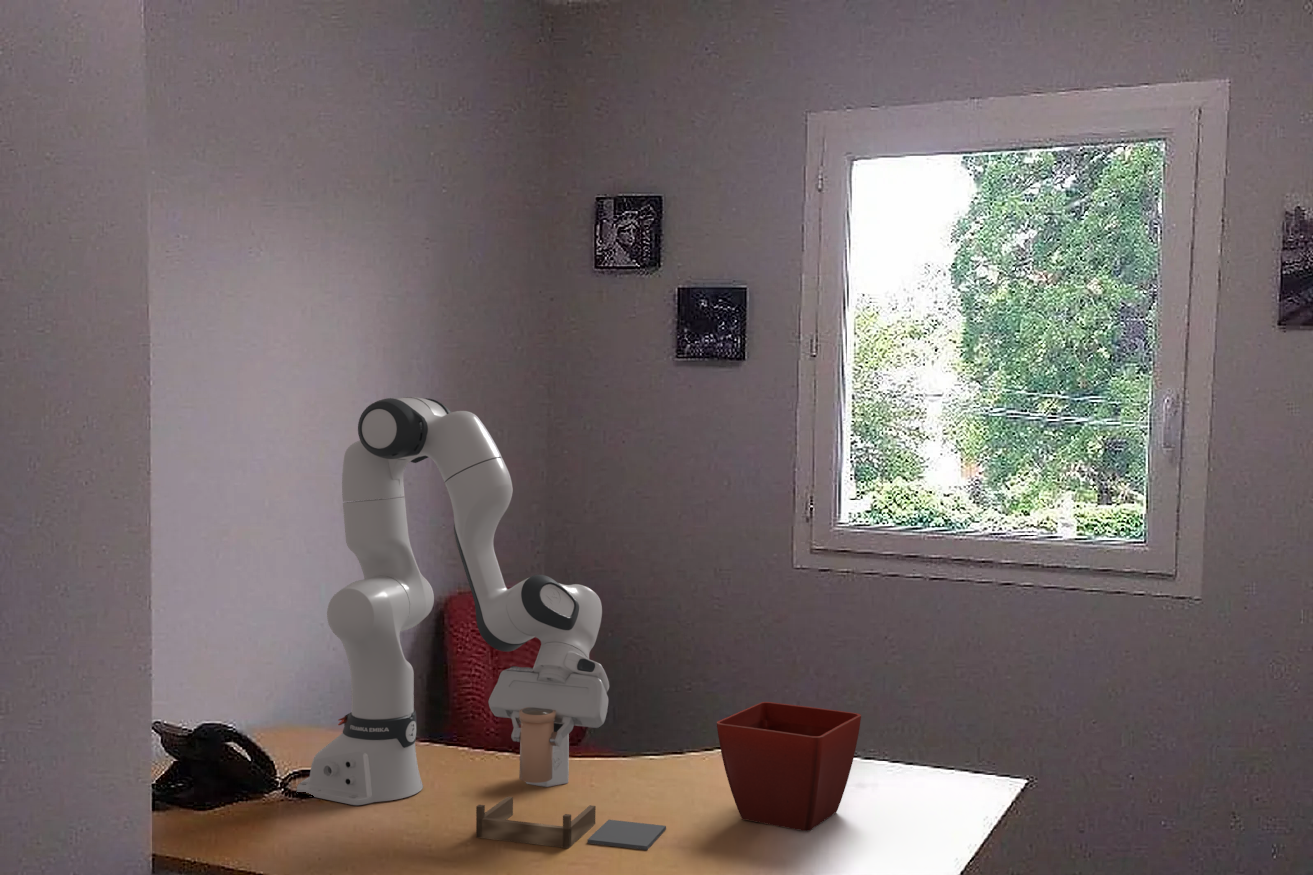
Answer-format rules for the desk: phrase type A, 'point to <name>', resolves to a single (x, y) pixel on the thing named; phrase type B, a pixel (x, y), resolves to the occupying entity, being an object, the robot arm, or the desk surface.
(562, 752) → the jar
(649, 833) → the mat
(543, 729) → the pot
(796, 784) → the plant pot
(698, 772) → the desk surface
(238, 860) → the desk surface
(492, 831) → the low fence
